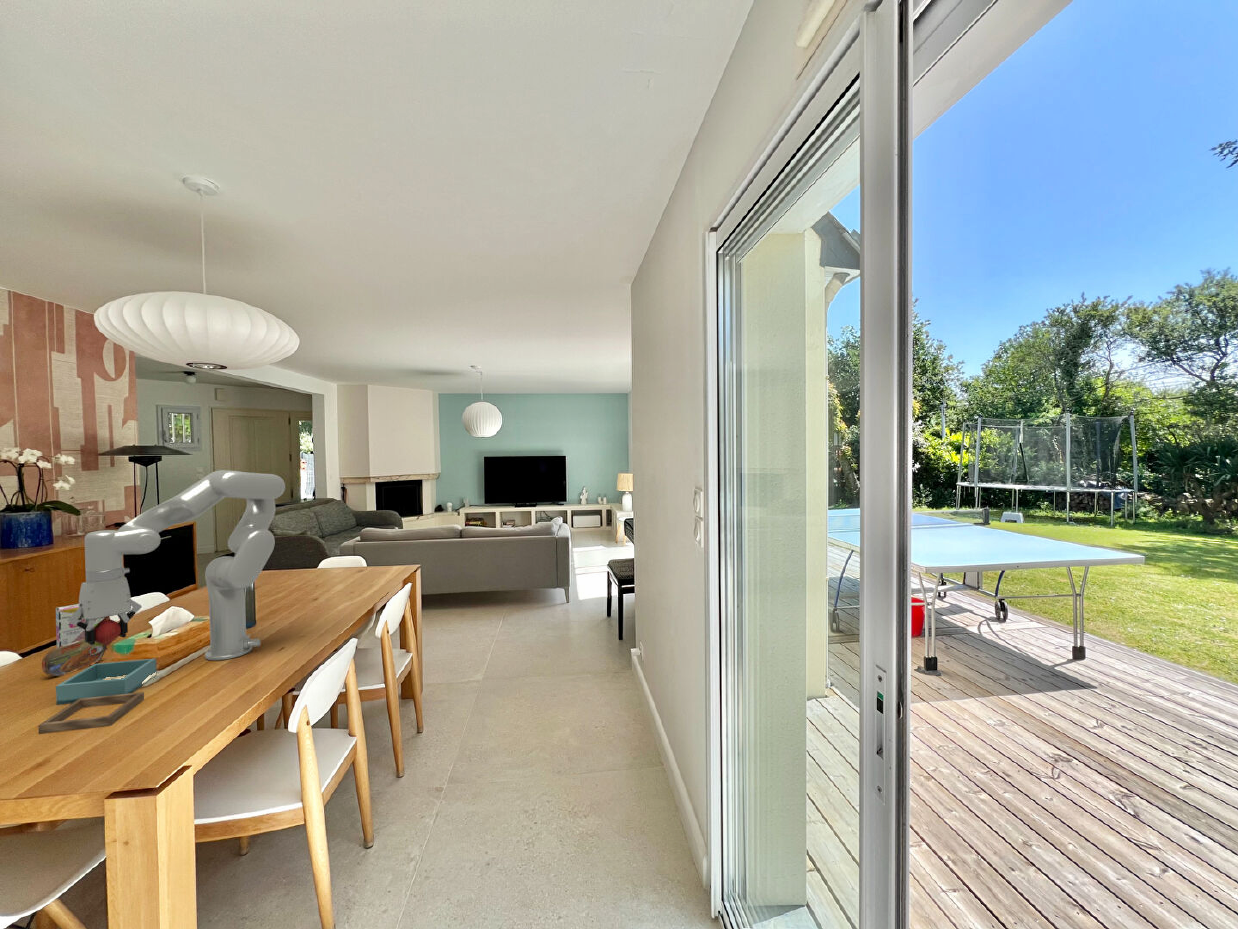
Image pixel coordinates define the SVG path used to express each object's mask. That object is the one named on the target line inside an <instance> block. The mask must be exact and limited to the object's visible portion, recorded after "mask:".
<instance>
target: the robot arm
mask: <svg viewBox="0 0 1238 929" xmlns="http://www.w3.org/2000/svg"><path fill="white" fill-rule="evenodd" d="M285 490H286V484H285V481H284V479H283V478H282V477H281V476H279V475H277V474H273V473H260V472H259V473H257V472H248V471H247V472H245V471H240V470H224V469H223V470H221V469H220V470H215V471H213V472H210V473H209V474H207V475H206V476H204V477H203V478H201V479H200V480H198V481H196V482H195V483H193V484H191V485H190V486H189V487H188V488H186V489H184V490H183V491H182V492H180V493H179V494H177V495H175V496H173V497H171V498H170V499H167V500H166V501H164V502H162V503H160V504H158V505H155V506H154V507H152V508H149V509H147V510H145V511H144V512H142V513H140V514H138V515H137V516H136V517H134V518H132V519H130V520H129V521H127V523H125V524H123V525H122V526H121V527H119V528H118V529H117V530H115V529H113V530H112V529H111V530H110V529H108V530H107V529H106V530H104V529H103V530H96V531H92V532H89V533H87V534H85V536H84V560H85V561H84V562H85V582H81V585H80V590H79V595H78V596H79V597H78V604H79V608H78V610H77V611H76V612H75V613H74V614H73V615H72V616H71V617H70V618H69V619H68V620H67V621H68V622H70V623H72V624H74V625H76V626H78V627H80V628H82V629H84V630H85V642H88V644H90V645H94V644H95V630H93V625H94V623H95V620H96V619H99V618H104V617H113V616H117V618H118V619H119V621H118V622H117V623H118V624H119V625H120V627H121V633H120V635H119V636H118V637H121V638H126V637H127V634H128V632H129V628H128V626H129V625H128V624H129V622H130V620H131V619H132V618H133V617H134V616H135V614H136V613H138V612H139V611H140V610H141V609H142V607H143V606H142V605H141V604H140V603H138V602H136V601H135V600H133V599H132V598H131V591H130V586H129V583H128V582H129V581H128V579H127V577H126V576H125V574H128V573H130V571H131V570H130V567H124V561H123V559H124V558H123V557H124V555H143V554H148V553H151V552H153V551H155V550H156V549H157V548H158V547H159V546H160V544H161V540H162V539H161V536H160V534H159V533H161V532H162V531H164V530H166V529H168V528H169V527H172V526H174V525H179V524H181V523H186V522H189V521H192V520H194V519H196V518H198V517H200V516H202V515H203V514H204V513H206V512H207V511H208V510H210V509H211V508H212V507H214V506H216V505H217V504H219V502H221V501H222V500H224V499H225V498H232V499H233V498H234V499H243V500H244V499H245V500H246V508H245V510H244V512H243V514H242V517H241V518H240V520H239V521H238V523H237V524H236V526H235V527H234V530H233V531H232V533H231V534H230V535H229V538H228V540H227V547H228V549H229V550H230V551H231V552H232V553H235V555H234V556H230V555H229V556H226V555H223V556H219V557H216V558H214V559H213V560H211V561H210V562H209V563H208V564H207V566H206V569H205V572H204V577H205V583H206V589H207V592H208V593H207V594H208V607H209V608H208V611H209V612H208V613H209V616H208V617H209V638H210V639H209V641H210V649H209V650H207V651H206V652H205V653H204V658H205V659H206V660H209V661H223V660H230V659H233V658H239V657H241V656H244V655H246V654H248V653H250V652H251V651H252V650H253V648H255V647H260V646H261V642H262V641H261V639H259V638H250V635H249V634H248V635H247V626H246V625H247V622H246V621H247V620H246V617H247V616H246V594H245V589H247V588H249V587H250V586H251V585H252V584H254V583H255V581H256V580H257V579H258V578H259V576H260V574H261V573H262V571H263V569H264V567H265V565H266V564H267V562H268V560H269V559H270V557H271V555H272V553H273V551H274V548H275V542H276V541H275V536H274V534H273V533H272V532H271V531H270V530H269V528H270V526H271V523H272V521H273V519H274V518H275V515H276V501H275V499H278V498H280V497H281V496H282V495H283V494H284V493H285ZM79 617H81V618H84V619H86V620H85V622H84V623H83V622H81V621H79V620H78V618H79Z"/></svg>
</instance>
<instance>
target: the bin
mask: <svg viewBox="0 0 1238 929" xmlns="http://www.w3.org/2000/svg"><path fill="white" fill-rule="evenodd" d="M156 671H158V670H157V658H154V657H153V658H146V659H133V660H125V661H123V660H122V661H114V662H102V663H96V664H93V665H91V666H89V667H86V668H84V669H82V671H80V672H78V673H76V674H74V675H73V676H71V677H69V678H68V679H67V678H66V680H64V681H62V682H60V683H59V684H57V685H56V686H55V696H56V697H55V698H56V706H59V705H60V706H61V705H68V704H69V703H70V704H72V703H74V702H75V701H77V700H79V699H81V698H91V697H100V696H110V695H120V694H129V693H135V692H136V691H137V690H138V689H140V688H142V686H143V685H142V682H143V681H144V680H145V679H146V678H147V677H148V676H149V675H152V674H153V673H155V672H156ZM123 675H127V676H125V677H124V678H121V679H111V680H103V679H105V678H106V677H117V676H123ZM70 704H69V705H70Z"/></svg>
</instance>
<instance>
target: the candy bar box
mask: <svg viewBox="0 0 1238 929" xmlns="http://www.w3.org/2000/svg"><path fill="white" fill-rule="evenodd" d="M78 608H79V603H76V604H70V605H66V606H60V607H55V629H56V630H55V631H56V632H55V634H56V635H55V636H56V648H57V647H61V646H64V645H67V644H70V643H73V642H77V641H80V640H83V639H85V630H84V629H82V628H80V627H78V626H76V625H74V624H72V623H70V622H68V621H67V620H68V619H69V618H70V617H71V616H72V615H73V614H74V613H75V612H76V611H77V610H78ZM104 618H105V617H104ZM104 618H99V619H96V620H95V623H94V625H93V629H94V627H95V626H96V625H97V624H98V623H99V622H100V621H102V620H103V619H104ZM78 620H79V621H81V622H83V623H84V622H85V620H86V619H84V618H81V617H79V618H78ZM105 650H106V651H107V645H105Z"/></svg>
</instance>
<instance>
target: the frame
mask: <svg viewBox="0 0 1238 929" xmlns="http://www.w3.org/2000/svg"><path fill="white" fill-rule="evenodd" d="M144 700H145V692H144V691H142V692H141V691H140V692H133V693H129V694H120V695H110V696H100V697H91V698H81V699H79V700H77V701H75V702H74V703H70V704H69V705H68V706H66V707H65V708H63V709H61V710H59V711H58V712H57V713H55V714H53V715H52V716H51V717H49V718H47V719H46V720H44V721H42V722H41V723H40V724H38V725H37V726H38V734H47V733H48V734H49V733H55V732H64V731H65V730H66V731H73V730H74V731H75V730H81V729H90V728H91V729H93V728H100V727H109V726H112V725H113V724H114V723H115V722H116V721H118V720H119V719H121V718H122V717H124V715H125V714H127V713H129V712H130V711H131V710H132V709H134V708H136V706H138V705H139V704H140V703H141V702H143V701H144ZM119 704H122V705H121V706H119V707H118V708H116V709H115V710H113V711H112V712H111V713H110V714H108V715H103V716H95V717H87V718H76V719H68V718H69V717H70V716H72V715H73V714H75V713H77V711H79V710H81V709H83V708H91V707H98V706H109V705H119ZM74 712H75V713H74ZM66 719H67V720H66Z"/></svg>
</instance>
